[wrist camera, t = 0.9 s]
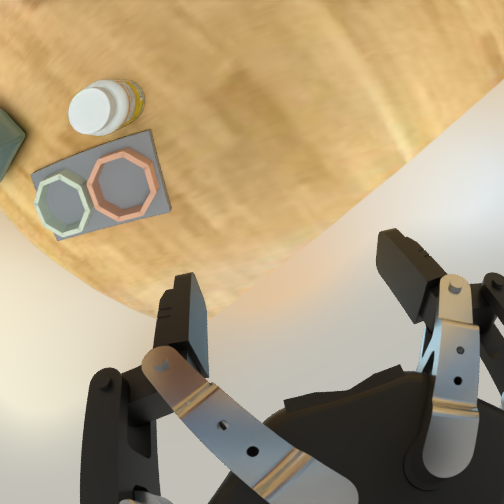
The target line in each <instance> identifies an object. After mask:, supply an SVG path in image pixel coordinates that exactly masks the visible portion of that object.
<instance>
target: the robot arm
mask: <svg viewBox="0 0 504 504" xmlns="http://www.w3.org/2000/svg"><path fill="white" fill-rule="evenodd" d="M376 266H377V270H378V272H379V274H380V275H381V277H382V278H383V279H384V281H385V282H386V284H387V285H388V286H389V287H390V289H391V291H392V292H393V293H394V295H395V296H396V298H397V299H398V301H399V302H400V304H401V305H402V307H403V308H404V310H405V311H406V313H407V314H408V316H409V317H410V319H411V320H412V322H413V323H414V324H417V323H419V322H422V321H424V322H425V327H424V331H423V338H422V345H421V351H420V357H419V362H418V366H417V369H416V372H415V371H403V370H402V368H401V366H400V364H399V365H397V366H394V367H392V368H389V369H386V370H384V371H381V372H378V373H375V374H373V375H372V376H370V377H369V378H367V379H366V380H364V381H363V382H361V383H359V384H358V385H356V386H354V387H353V388H351V389H349V390H346V391H335V392H314V393H310V394H307V395H303V396H298V397H295V398H290V399H286V400H284V404H285V408H283V409H281V410H279V411H277V412H276V413H274V414H272V415H271V416H270V417H268V418H267V419H266V420H265V421H264V422H263V423H261V422H260V421H259V420H257V419H256V418H255V417H254V416H252V415H251V414H250V413H249V412H248V411H246V410H245V409H244V408H243V407H241V406H240V405H239V404H238V403H237V402H236V401H234V400H233V399H232V398H231V397H230V396H229V395H228V394H226V393H225V392H224V391H223V390H222V389H221V388H219V387H218V386H217V385H216V384H214V383H209V382H208V381H207V380H206V379H205V378H209V366H208V343H207V342H208V339H207V310H206V305H205V301H204V298H203V295H202V293H201V290H200V287H199V285H198V282H197V279H196V277H195V274H194V273H193V272H191V273H186V274H182V275H177V276H175V280H174V288H173V289H170V290H166V291H165V293H164V294H163V296H162V297H161V299H160V303H159V309H158V310H159V311H158V316H157V318H158V319H157V322H156V329H155V337H154V345H153V349H152V350H150V351H149V352H148V353H147V354H146V355H145V357H144V359H143V360H142V365H140V366H138V367H136V368H134V369H132V370H129V371H127V372H124V373H122V374H121V373H120V372H119V371H118V370H116V369H114V368H104V369H102V370H100V371H98V372H97V373H96V374H95V375H94V376H93V378H92V380H91V382H90V385H89V392H88V398H87V405H86V413H85V421H84V430H83V440H82V453H81V473H80V504H173V503H172V502H171V501H169V500H168V499H166V498H163V497H161V494H160V484H159V470H158V454H157V431H156V430H157V429H156V419H158V418H161V417H163V416H166V415H168V414H171V413H173V412H175V413H176V415H177V416H178V417H179V418H180V419H181V420H182V422H183V423H184V424H185V425H186V426H187V427H188V428H189V429H190V430H191V431H192V432H193V433H194V434H195V436H196V437H197V438H198V439H199V440H200V441H201V442H202V443H203V444H204V445H205V446H206V447H207V448H208V449H209V450H210V451H211V452H212V453H213V454H214V455H215V456H216V457H217V458H218V459H219V460H220V461H221V462H222V463H224V464H225V465H226V466H227V467H228V468H229V469H230V470H231V471H230V472H229V474H228V475H227V477H226V478H225V480H224V481H223V483H222V484H221V486H220V487H219V488H218V490H217V491H216V493H215V494H214V496H213V497H212V499H211V500H210V501H209V503H208V504H504V338H503V336H502V335H501V333H500V332H499V330H498V329H497V327H496V326H495V324H494V322H495V320H496V318H497V316H498V318H499V319H500V321H501V322H502V324H503V325H504V277H503V276H502V275H500V274H498V273H493V272H492V273H488V274H486V275H485V277H484V280H483V282H482V283H479V284H469V283H468V282H467V281H466V280H465V279H464V278H462V277H461V276H458V275H454V274H449V275H448V274H447V273H446V272H445V271H444V270H443V269H442V268H441V267H440V266H439V264H438V263H437V262H436V261H435V260H434V259H433V258H432V257H431V256H429V254H428V253H427V252H426V251H425V250H424V249H423V248H422V247H421V246H420V245H419V244H418V243H417V242H416V241H414V240H412V239H410V238H409V237H404V235H402V233H400V231H399V230H397V229H396V228H394V229H389V230H385V231H381V232H379V235H378V244H377V255H376ZM480 357H481V359H482V361H483V362H484V364H485V366H486V368H487V369H488V371H489V373H490V375H491V377H492V379H493V381H494V383H495V385H496V386H497V389H498V391H499V392H500V394H501V404H502V405H501V406H500V408H498V407H496V406H494V405H491V404H489V403H487V402H485V401H483V400H480V399H478V398H477V395H478V383H479V362H480Z"/></svg>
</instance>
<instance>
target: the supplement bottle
mask: <svg viewBox="0 0 504 504" xmlns="http://www.w3.org/2000/svg"><path fill="white" fill-rule="evenodd" d="M143 107H144V94H143V91H142V89H141V88H140V87H139V85H137V84H136V83H135V82H133V81H129V80H99V81H96V82H93V83H91V84H90V85H88V86H87V87H86V88H85V89H84V90H82V91H80V92H79V93H77V94H76V95H75V97H74V98H73V99H72V101H71V103H70V106H69V111H68V116H69V121H70V124H71V126H72V127H73V128H74V129H75V130H76V131H77V132H79V133H82V134H91V135H94V136H103V135H107V134H110V133H112V132H114V131H116V130H118V129H120V128H122V127H123V126H125V125H127V124H129V123H131V122H133V121H134V120H135V119H137V118H138V117H139V115H140V114H141V112H142V110H143Z"/></svg>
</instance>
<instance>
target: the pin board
mask: <svg viewBox="0 0 504 504" xmlns="http://www.w3.org/2000/svg"><path fill="white" fill-rule="evenodd" d="M31 178H32V181H33V184H34V186H35V189H36V192H37V194H36V198H35V201H34V206H35V208H36V211H37V213H38V215H39V218H40V220H41V222H42V225H43V226H44V227H45V228H47V229H49V230H50V231H52V232H53V233H54V235H55V237H56V239H57V241H60V240H64V239H67V238H71V237H74V236H78V235H81V234H85V233H89V232H92V231H96V230H100V229H104V228H107V227H111V226H115V225H119V224H123V223H127V222H131V221H135V220H139V219H143V218H147V217H152V216H156V215H160V214H165V213H169V212H170V211H171V205H170V201H169V198H168V194H167V191H166V187H165V183H164V180H163V176H162V172H161V168H160V165H159V161H158V157H157V153H156V149H155V145H154V141H153V137H152V133H151V129H149V130H146V131H142V132H139V133H135V134H132V135H129V136H126V137H122V138H119V139H116V140H113V141H110V142H107V143H104V144H102V145H99V146H96V147H93V148H90V149H88V150H85V151H83V152H80V153H77V154H75V155H72V156H70V157H67V158H65V159H63V160H60V161H58V162H55V163H53V164H51V165H49V166H46V167H44V168H42V169H40V170H38V171H36V172H34V173H32V174H31Z"/></svg>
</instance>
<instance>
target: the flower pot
mask: <svg viewBox="0 0 504 504" xmlns="http://www.w3.org/2000/svg"><path fill="white" fill-rule="evenodd" d="M24 138H25V133H24V132H23V131H22V129H21V128H20V127H19V126H18V125H17V124H16V123H15V122H14V121H13V120H12V119H11V117H10V116H9V115H8V114H7V113H6V112H4V111H3V110H2V109H0V182H1V180H2V179H3V177H4V176H5V174H6V172H7V170H8V168H9V166H10V164H11V162H12V160H13V158H14V156H15V154H16V152H17V151H18V149H19V147H20V145H21V144H22V142H23V140H24Z"/></svg>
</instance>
